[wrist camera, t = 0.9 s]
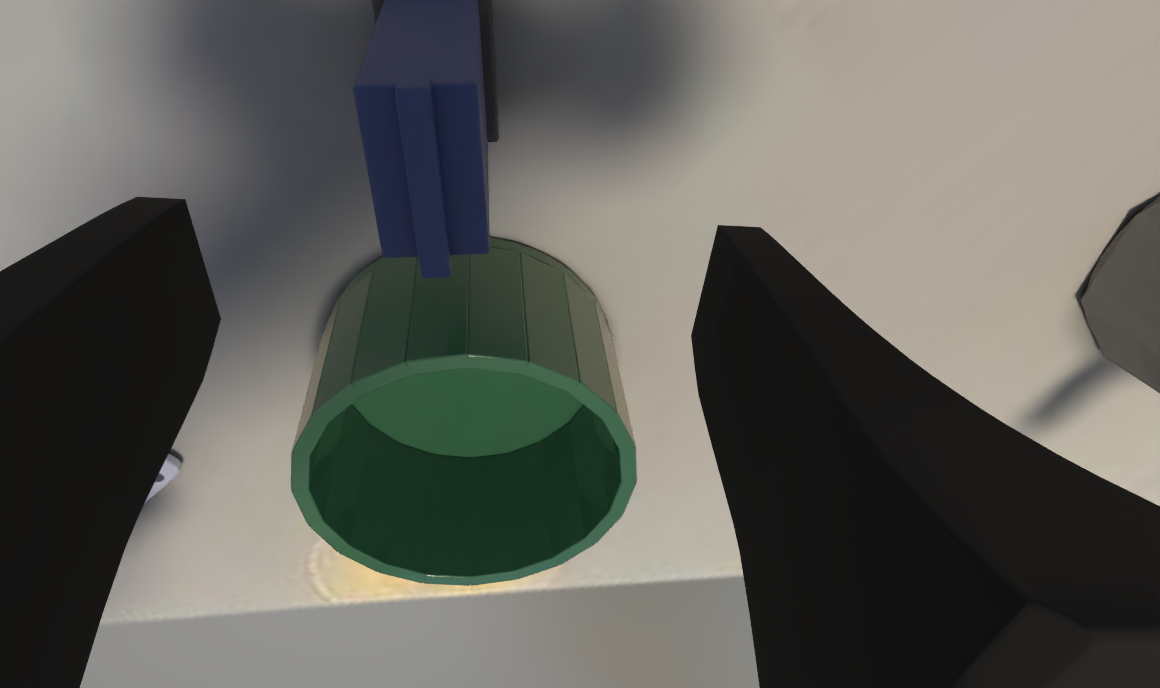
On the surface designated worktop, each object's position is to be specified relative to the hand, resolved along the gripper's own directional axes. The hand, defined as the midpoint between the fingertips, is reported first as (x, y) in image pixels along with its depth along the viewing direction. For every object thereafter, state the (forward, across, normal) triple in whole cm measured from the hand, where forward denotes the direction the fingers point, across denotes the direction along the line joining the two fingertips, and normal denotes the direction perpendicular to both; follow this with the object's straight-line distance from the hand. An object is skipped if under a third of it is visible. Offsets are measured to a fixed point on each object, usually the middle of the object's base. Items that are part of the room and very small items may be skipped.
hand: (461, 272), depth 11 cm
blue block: (+12, +1, +1) cm, 12 cm away
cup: (+11, +1, +12) cm, 16 cm away
